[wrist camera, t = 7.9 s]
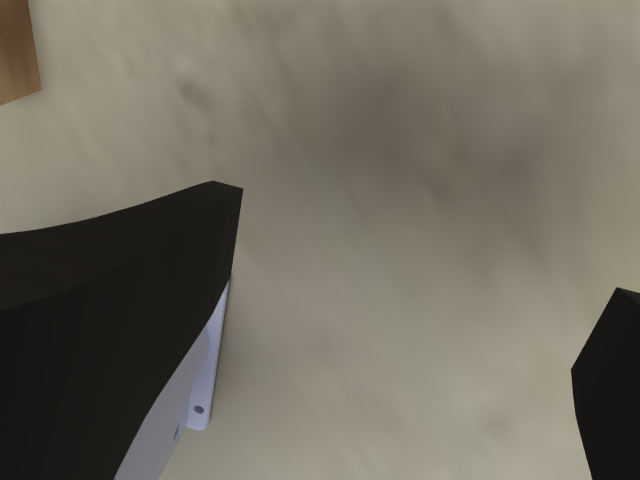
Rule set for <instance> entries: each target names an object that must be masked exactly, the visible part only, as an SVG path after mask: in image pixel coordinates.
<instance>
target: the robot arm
mask: <svg viewBox="0 0 640 480" xmlns="http://www.w3.org/2000/svg"><path fill="white" fill-rule="evenodd" d="M242 194H243V188H239V187H235V186H231V185H228V184H224V183H220V182H216V181H209V182H205V183H202V184H198V185H195V186H192V187H189V188H186V189H183V190H181V191H178V192H175V193H172V194H169V195H166V196H163V197H160V198H157V199H155V200H152V201H149V202H146V203H143V204H140V205H136V206H133V207H130V208H126V209H123V210H119V211H116V212H112V213H109V214H105V215H102V216H99V217H95V218H91V219H87V220H83V221H78V222H74V223H69V224H64V225H59V226H54V227H48V228H43V229H37V230H31V231H23V232H15V233H6V234H0V480H158V478H159V476H160V474H161V473H162V471H163V469H164V467H165V465H166V463H167V461H168V459H169V457H170V455H171V453H172V451H173V449H174V447H175V446H176V444H177V442H178V440H179V438H180V436H181V434H182V432H183V430H184V428H185V427H187V428H190V429H194V430H198V431H201V430H204V429H206V427H207V425H208V423H209V419H210V412H211V405H212V398H213V391H214V384H215V377H216V370H217V363H218V356H219V349H220V342H221V336H222V329H223V322H224V315H225V308H226V301H227V294H228V287H229V279H230V276H231V270H232V263H233V256H234V249H235V242H236V235H237V228H238V221H239V215H240V208H241V201H242ZM571 375H572V387H573V398H574V406H575V414H576V419H577V423H578V427H579V431H580V435H581V439H582V443H583V446H584V450H585V454H586V458H587V461H588V465H589V469H590V472H591V476H592V479H593V480H640V293H637V292H633V291H629V290H626V289H622V288H618V287H616V289H615V291H614V293H613V295H612V296H611V298H610V300H609V302H608V304H607V306H606V307H605V309H604V311H603V313H602V315H601V316H600V318H599V320H598V322H597V324H596V325H595V327H594V329H593V331H592V333H591V334H590V336H589V338H588V340H587V342H586V344H585V345H584V347H583V349H582V351H581V353H580V354H579V356H578V358H577V360H576V362H575V363H574V365H573V367H572V369H571ZM199 406H201V407H202V408H201V407H199Z"/></svg>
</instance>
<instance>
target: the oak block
mask: <svg viewBox="0 0 640 480" xmlns="http://www.w3.org/2000/svg"><path fill="white" fill-rule="evenodd" d="M39 90H41V84H40V78H39V71H38V65H37V59H36V52H35V46H34V39H33V33H32V26H31V20H30V13H29V7H28V0H0V105H3V104H5V103H8V102H10V101H13V100H16V99H18V98H21V97H23V96H26V95H29V94H31V93H34V92H36V91H39Z"/></svg>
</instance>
